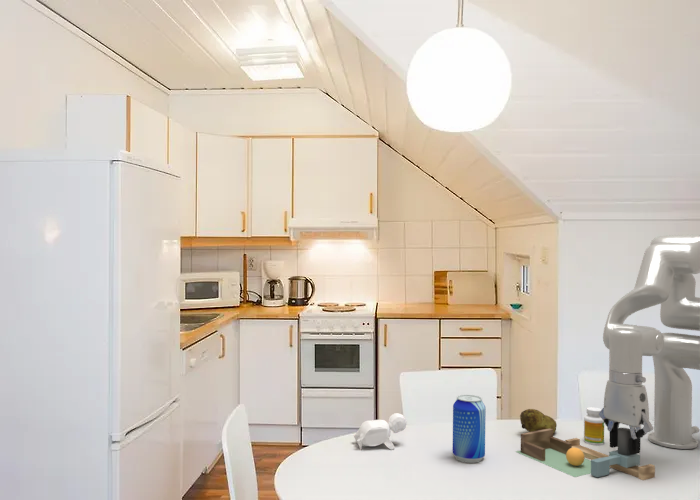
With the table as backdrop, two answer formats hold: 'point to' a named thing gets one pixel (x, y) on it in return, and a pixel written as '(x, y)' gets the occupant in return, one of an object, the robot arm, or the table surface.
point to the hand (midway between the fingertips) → (624, 449)
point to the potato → (536, 421)
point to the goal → (542, 443)
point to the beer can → (469, 428)
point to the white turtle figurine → (379, 431)
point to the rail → (639, 472)
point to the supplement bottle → (593, 427)
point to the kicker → (616, 456)
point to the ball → (575, 456)
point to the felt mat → (563, 463)
